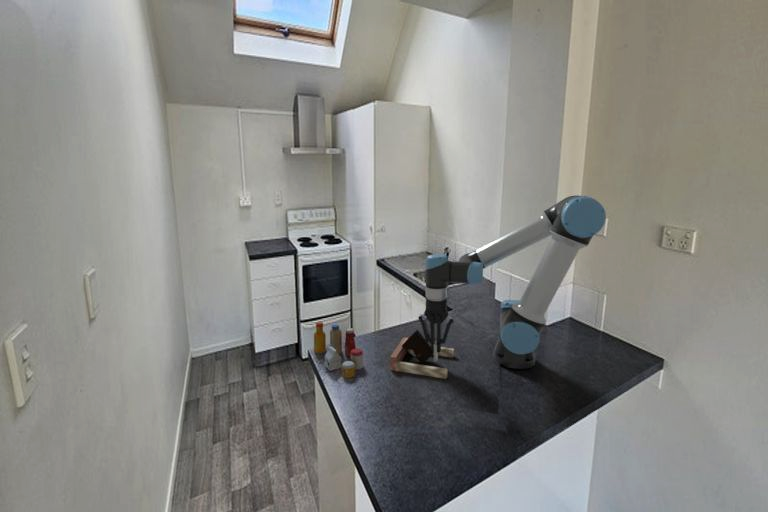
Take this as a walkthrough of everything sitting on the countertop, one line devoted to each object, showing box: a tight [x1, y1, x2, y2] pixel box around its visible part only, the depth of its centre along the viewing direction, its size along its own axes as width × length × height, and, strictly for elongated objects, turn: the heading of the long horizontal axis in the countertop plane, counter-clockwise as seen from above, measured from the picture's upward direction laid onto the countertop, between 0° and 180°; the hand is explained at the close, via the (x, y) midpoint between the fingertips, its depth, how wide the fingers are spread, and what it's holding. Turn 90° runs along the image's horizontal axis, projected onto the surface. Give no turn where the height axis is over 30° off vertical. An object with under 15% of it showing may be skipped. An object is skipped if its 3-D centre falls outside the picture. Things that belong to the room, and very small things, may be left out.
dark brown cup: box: [402, 329, 434, 365], centre depth 139 cm, size 12×9×10 cm
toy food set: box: [313, 321, 364, 379], centre depth 138 cm, size 27×13×12 cm, turn 31°
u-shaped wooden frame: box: [389, 337, 455, 379], centre depth 137 cm, size 20×18×5 cm
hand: (435, 359), depth 136 cm, fingers closed
